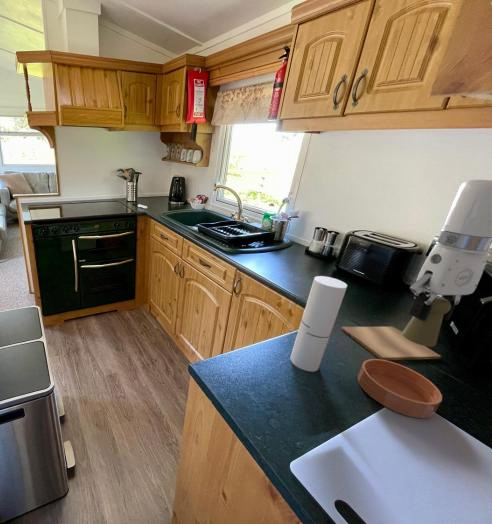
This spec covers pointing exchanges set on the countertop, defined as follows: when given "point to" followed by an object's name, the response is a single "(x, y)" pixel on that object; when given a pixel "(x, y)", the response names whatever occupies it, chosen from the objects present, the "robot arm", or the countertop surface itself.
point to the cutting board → (389, 343)
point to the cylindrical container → (317, 322)
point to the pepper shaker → (427, 324)
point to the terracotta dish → (399, 388)
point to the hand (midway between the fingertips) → (428, 316)
